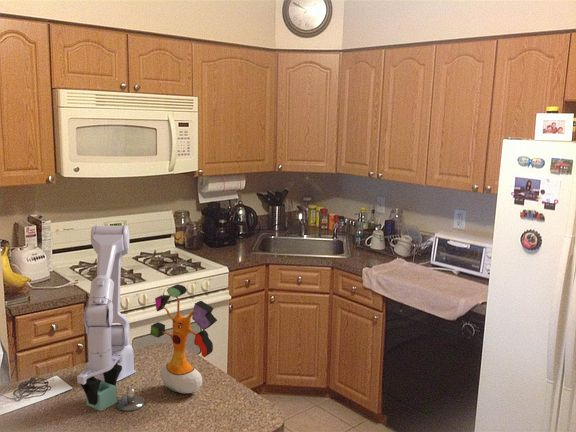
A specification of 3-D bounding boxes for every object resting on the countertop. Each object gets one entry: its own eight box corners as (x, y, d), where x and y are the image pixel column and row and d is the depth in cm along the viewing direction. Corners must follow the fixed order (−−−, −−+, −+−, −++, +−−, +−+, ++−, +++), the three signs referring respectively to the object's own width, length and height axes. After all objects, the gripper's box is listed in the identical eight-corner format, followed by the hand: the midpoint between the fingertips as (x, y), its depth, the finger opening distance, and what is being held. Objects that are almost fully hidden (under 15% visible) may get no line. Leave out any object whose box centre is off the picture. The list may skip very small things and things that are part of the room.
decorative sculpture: (222, 393, 152) (222, 288, 147) (206, 406, 145) (206, 297, 139) (163, 377, 160) (161, 277, 155) (145, 389, 153) (143, 285, 148)
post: (131, 395, 150) (131, 379, 149) (150, 402, 146) (149, 387, 145) (111, 406, 144) (110, 390, 143) (129, 414, 140) (129, 397, 139)
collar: (103, 396, 148) (102, 380, 148) (117, 402, 146) (116, 386, 145) (86, 404, 144) (85, 388, 143) (100, 411, 141) (99, 394, 140)
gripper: (106, 336, 150) (108, 382, 153) (66, 357, 137) (69, 407, 139) (127, 341, 148) (128, 388, 150) (89, 362, 134) (91, 413, 137)
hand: (101, 397), depth 145 cm, fingers closed on collar, 6 cm apart
